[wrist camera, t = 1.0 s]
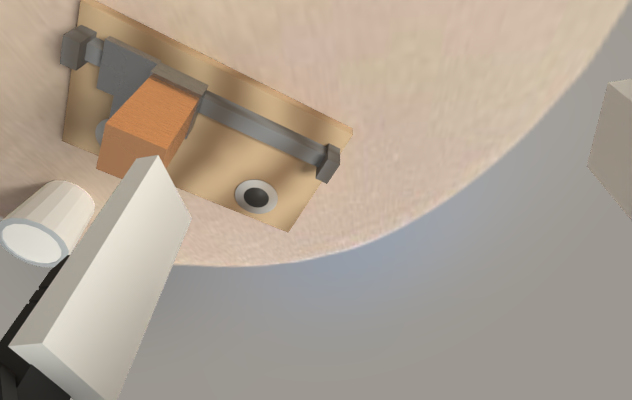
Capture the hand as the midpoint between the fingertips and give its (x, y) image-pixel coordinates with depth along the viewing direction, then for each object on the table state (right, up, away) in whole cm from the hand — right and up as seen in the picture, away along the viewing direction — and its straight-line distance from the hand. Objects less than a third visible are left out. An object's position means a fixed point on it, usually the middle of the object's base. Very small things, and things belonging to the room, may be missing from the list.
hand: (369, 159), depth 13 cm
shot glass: (-29, -1, +33) cm, 44 cm away
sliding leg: (-14, +6, +24) cm, 29 cm away
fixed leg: (-18, +8, +23) cm, 30 cm away
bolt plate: (-12, +5, +26) cm, 30 cm away
